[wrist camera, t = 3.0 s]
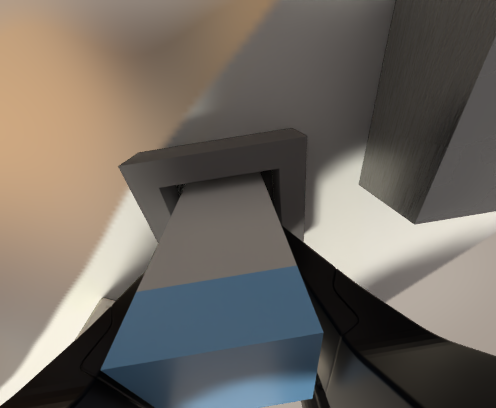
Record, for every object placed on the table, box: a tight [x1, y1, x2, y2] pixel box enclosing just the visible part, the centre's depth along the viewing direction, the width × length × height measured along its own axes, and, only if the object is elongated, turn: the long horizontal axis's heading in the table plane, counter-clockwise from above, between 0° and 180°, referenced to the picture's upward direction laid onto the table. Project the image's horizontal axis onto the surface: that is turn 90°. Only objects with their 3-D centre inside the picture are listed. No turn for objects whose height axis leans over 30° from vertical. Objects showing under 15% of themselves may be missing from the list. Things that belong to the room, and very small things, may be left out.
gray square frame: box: [118, 128, 307, 243], centre depth 10 cm, size 8×8×2 cm
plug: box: [101, 172, 324, 408], centre depth 8 cm, size 4×4×8 cm
